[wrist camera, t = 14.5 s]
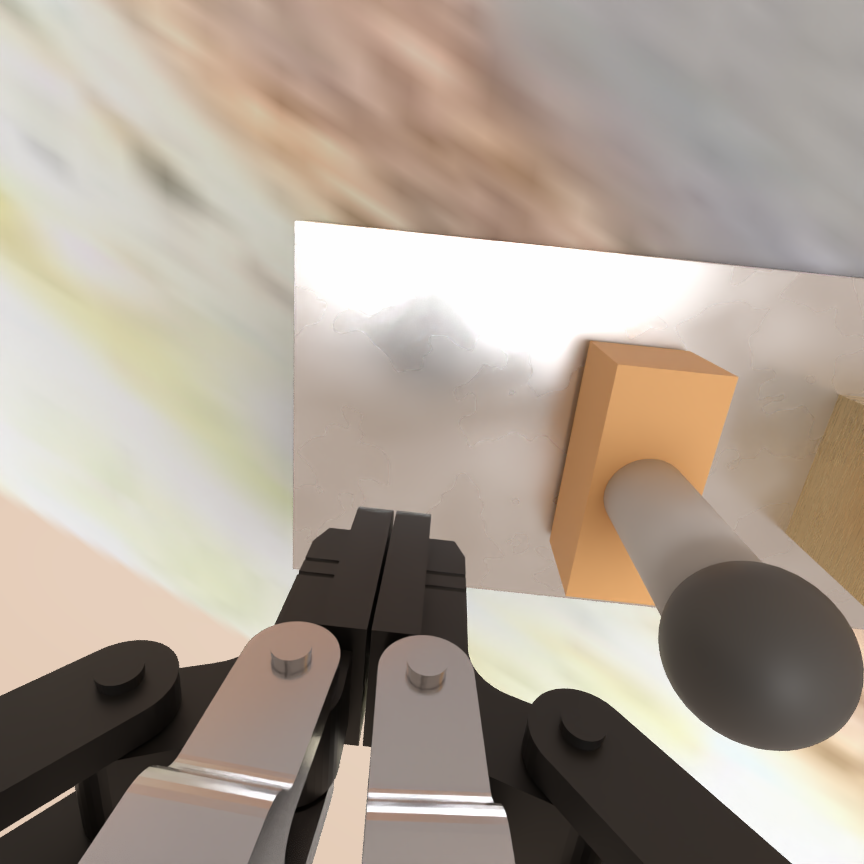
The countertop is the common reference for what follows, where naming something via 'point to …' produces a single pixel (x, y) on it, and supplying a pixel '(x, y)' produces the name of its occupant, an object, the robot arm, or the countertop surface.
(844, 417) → the block
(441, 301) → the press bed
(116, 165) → the countertop surface
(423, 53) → the countertop surface
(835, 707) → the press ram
